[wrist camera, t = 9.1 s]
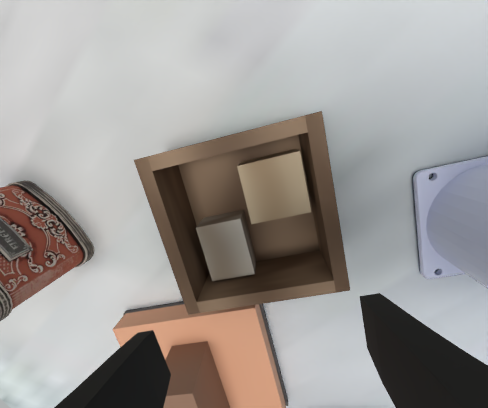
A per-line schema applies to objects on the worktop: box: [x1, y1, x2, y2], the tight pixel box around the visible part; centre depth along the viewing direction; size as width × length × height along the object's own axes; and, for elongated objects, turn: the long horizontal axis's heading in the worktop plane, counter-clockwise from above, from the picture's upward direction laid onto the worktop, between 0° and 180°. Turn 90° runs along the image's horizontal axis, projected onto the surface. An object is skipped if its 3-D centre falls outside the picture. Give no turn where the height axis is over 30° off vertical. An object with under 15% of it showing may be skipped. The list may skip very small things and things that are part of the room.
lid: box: [113, 304, 286, 408], centre depth 19 cm, size 12×12×6 cm
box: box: [134, 111, 350, 315], centre depth 16 cm, size 10×10×4 cm
